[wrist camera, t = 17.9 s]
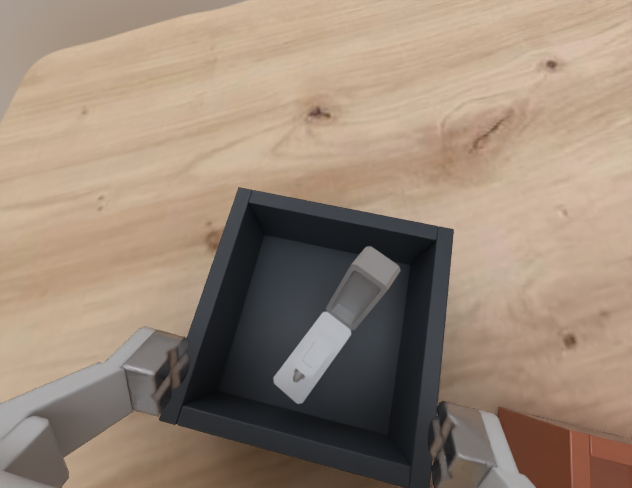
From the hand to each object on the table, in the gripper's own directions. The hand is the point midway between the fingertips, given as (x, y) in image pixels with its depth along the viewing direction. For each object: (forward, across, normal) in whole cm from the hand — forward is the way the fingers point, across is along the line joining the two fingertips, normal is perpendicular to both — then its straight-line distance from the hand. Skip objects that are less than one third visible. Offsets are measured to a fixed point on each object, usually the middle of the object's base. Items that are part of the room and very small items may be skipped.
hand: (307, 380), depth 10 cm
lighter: (+8, 0, +5) cm, 10 cm away
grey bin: (+9, 0, +5) cm, 10 cm away
